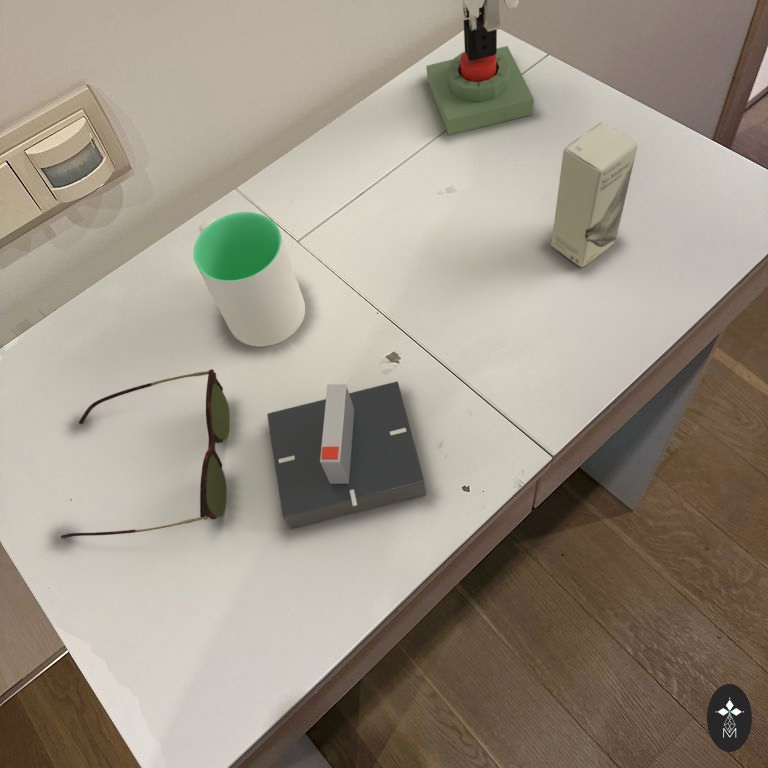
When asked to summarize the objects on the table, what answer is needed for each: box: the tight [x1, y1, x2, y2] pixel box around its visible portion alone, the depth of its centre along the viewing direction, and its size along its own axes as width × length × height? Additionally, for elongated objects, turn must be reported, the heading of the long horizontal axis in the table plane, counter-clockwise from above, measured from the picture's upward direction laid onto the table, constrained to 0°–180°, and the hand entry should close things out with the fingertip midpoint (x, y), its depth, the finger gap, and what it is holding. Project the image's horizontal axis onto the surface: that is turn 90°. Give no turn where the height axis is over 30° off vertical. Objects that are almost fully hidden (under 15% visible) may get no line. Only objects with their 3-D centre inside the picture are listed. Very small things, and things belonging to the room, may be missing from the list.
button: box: [460, 51, 496, 82], centre depth 84 cm, size 4×4×2 cm
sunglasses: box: [60, 368, 231, 539], centre depth 67 cm, size 14×15×5 cm
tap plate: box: [266, 381, 428, 529], centre depth 65 cm, size 12×11×3 cm
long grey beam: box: [320, 383, 354, 484], centre depth 62 cm, size 7×2×5 cm, turn 177°
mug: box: [192, 211, 306, 348], centre depth 72 cm, size 12×8×10 cm, turn 42°
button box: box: [425, 45, 535, 136], centre depth 87 cm, size 10×10×4 cm
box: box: [550, 121, 639, 268], centre depth 70 cm, size 5×4×13 cm
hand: (480, 53), depth 83 cm, fingers closed
